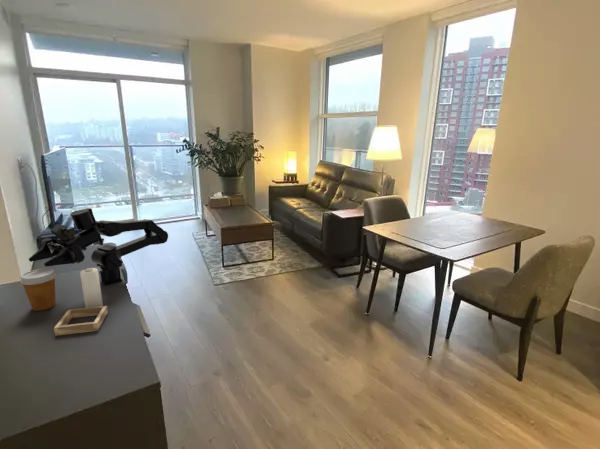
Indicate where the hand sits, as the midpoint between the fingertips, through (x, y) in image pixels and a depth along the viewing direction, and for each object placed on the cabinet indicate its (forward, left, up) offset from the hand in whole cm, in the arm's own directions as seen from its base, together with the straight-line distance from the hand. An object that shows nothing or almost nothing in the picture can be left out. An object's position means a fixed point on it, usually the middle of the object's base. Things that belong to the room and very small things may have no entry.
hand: (36, 262), depth 109 cm
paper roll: (-12, +12, -16) cm, 23 cm away
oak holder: (-6, +21, -16) cm, 27 cm away
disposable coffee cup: (0, 0, -16) cm, 16 cm away
